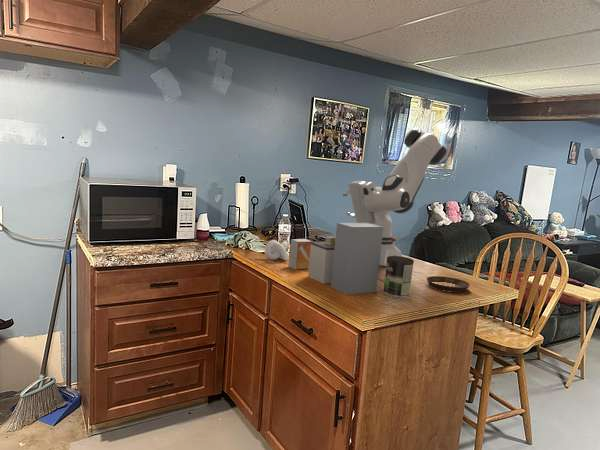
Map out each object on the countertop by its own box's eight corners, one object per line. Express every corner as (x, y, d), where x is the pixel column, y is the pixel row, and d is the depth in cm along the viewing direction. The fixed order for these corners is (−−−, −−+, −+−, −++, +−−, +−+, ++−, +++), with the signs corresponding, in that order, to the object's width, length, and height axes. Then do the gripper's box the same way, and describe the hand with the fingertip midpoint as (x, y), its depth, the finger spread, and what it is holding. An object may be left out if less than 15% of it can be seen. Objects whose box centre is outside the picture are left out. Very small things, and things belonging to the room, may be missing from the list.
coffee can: (387, 297, 161) (391, 261, 159) (380, 289, 171) (383, 255, 169) (413, 298, 162) (418, 262, 160) (404, 290, 172) (408, 256, 170)
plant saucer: (417, 282, 187) (418, 276, 187) (449, 281, 194) (450, 275, 193) (444, 295, 171) (445, 288, 170) (478, 293, 177) (479, 286, 177)
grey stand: (360, 284, 176) (367, 222, 172) (376, 291, 168) (383, 226, 164) (331, 287, 169) (336, 222, 165) (345, 294, 160) (352, 227, 156)
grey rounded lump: (272, 255, 219) (274, 238, 217) (293, 258, 214) (295, 241, 212) (261, 258, 208) (263, 241, 207) (283, 262, 203) (284, 244, 202)
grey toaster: (342, 273, 192) (345, 240, 190) (358, 280, 182) (361, 246, 179) (308, 275, 183) (311, 241, 181) (323, 283, 173) (326, 247, 170)
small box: (295, 269, 192) (297, 241, 190) (288, 266, 197) (290, 239, 195) (310, 268, 196) (312, 241, 194) (302, 265, 201) (304, 238, 200)
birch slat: (361, 242, 189) (361, 235, 188) (365, 244, 186) (366, 237, 185) (325, 243, 179) (326, 236, 179) (330, 245, 176) (330, 238, 176)
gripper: (379, 222, 192) (353, 223, 200) (371, 178, 187) (344, 181, 195) (373, 226, 187) (346, 227, 196) (364, 182, 182) (337, 185, 190)
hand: (345, 204), depth 195 cm, fingers open, 8 cm apart
